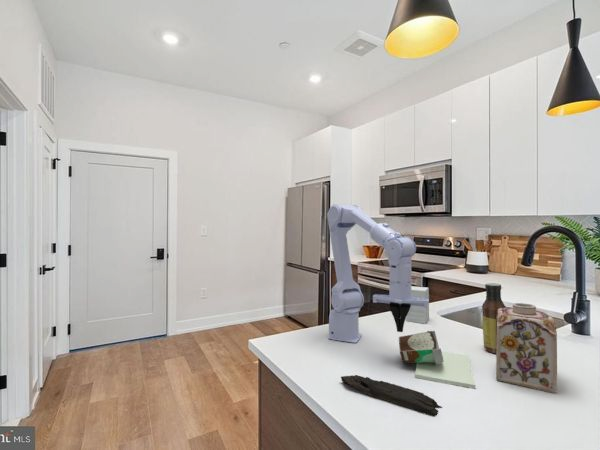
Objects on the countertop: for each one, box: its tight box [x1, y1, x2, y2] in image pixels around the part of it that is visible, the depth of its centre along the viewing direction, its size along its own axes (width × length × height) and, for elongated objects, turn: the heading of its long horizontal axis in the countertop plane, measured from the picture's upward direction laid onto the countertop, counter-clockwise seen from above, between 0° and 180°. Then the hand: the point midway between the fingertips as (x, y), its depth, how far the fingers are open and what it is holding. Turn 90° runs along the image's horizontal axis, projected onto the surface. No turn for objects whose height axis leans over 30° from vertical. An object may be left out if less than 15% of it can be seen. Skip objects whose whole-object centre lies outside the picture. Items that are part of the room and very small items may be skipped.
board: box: [414, 350, 476, 389], centre depth 84 cm, size 13×18×1 cm
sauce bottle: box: [482, 282, 507, 355], centre depth 95 cm, size 6×6×20 cm
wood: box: [340, 374, 443, 417], centre depth 71 cm, size 22×7×3 cm, turn 56°
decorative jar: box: [495, 302, 558, 394], centre depth 79 cm, size 12×12×18 cm
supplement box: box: [406, 285, 430, 324], centre depth 125 cm, size 7×7×13 cm
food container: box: [398, 330, 444, 365], centre depth 86 cm, size 12×6×10 cm
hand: (400, 330), depth 88 cm, fingers closed
